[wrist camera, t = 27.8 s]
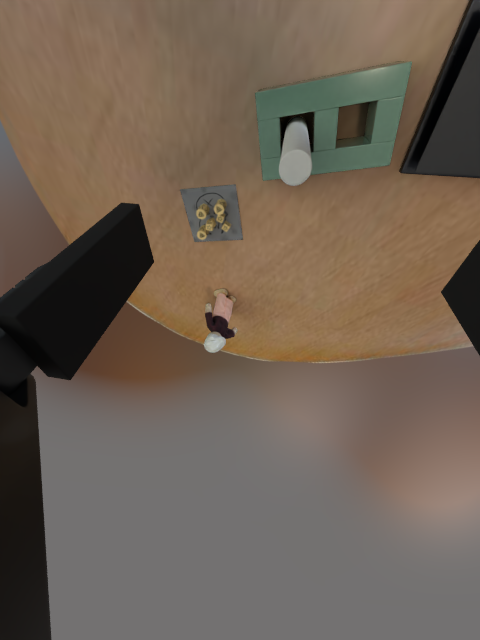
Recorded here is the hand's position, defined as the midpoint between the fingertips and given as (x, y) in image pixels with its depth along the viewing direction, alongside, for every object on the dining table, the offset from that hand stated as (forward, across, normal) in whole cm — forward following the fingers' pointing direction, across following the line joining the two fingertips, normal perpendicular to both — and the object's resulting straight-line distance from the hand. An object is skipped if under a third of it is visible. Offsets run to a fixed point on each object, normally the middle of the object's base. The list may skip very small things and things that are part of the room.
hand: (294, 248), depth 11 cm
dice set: (+27, -10, -11) cm, 31 cm away
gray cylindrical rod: (+27, 0, 0) cm, 27 cm away
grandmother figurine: (+27, -9, -27) cm, 39 cm away
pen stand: (+27, +3, 0) cm, 27 cm away
